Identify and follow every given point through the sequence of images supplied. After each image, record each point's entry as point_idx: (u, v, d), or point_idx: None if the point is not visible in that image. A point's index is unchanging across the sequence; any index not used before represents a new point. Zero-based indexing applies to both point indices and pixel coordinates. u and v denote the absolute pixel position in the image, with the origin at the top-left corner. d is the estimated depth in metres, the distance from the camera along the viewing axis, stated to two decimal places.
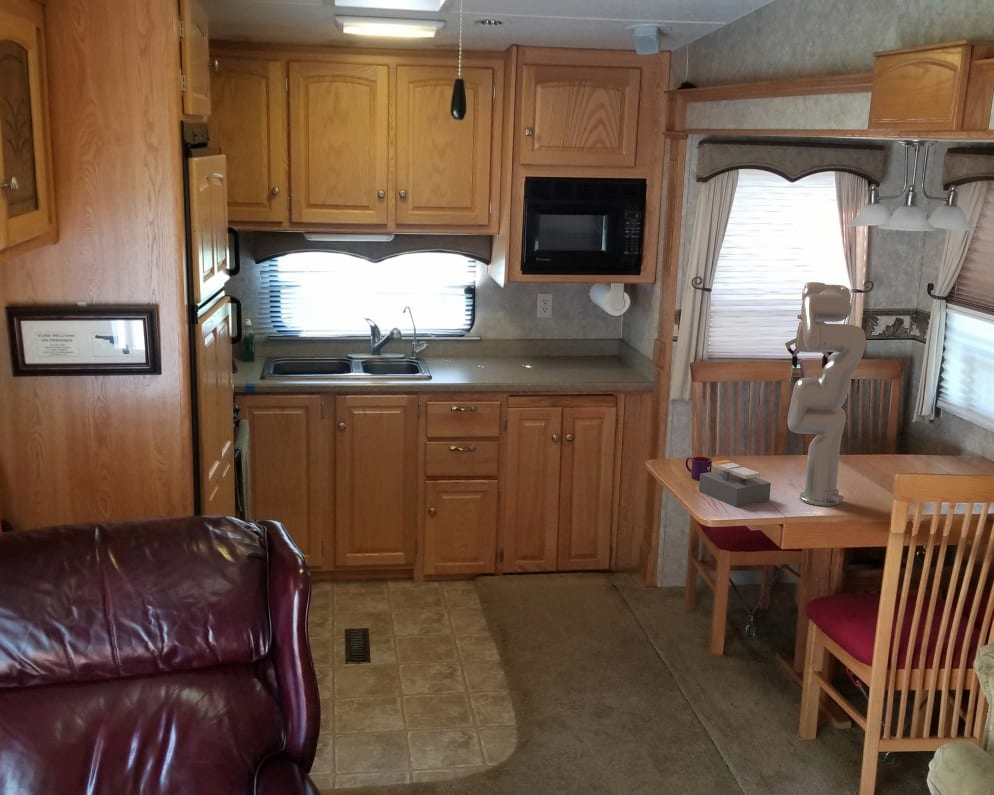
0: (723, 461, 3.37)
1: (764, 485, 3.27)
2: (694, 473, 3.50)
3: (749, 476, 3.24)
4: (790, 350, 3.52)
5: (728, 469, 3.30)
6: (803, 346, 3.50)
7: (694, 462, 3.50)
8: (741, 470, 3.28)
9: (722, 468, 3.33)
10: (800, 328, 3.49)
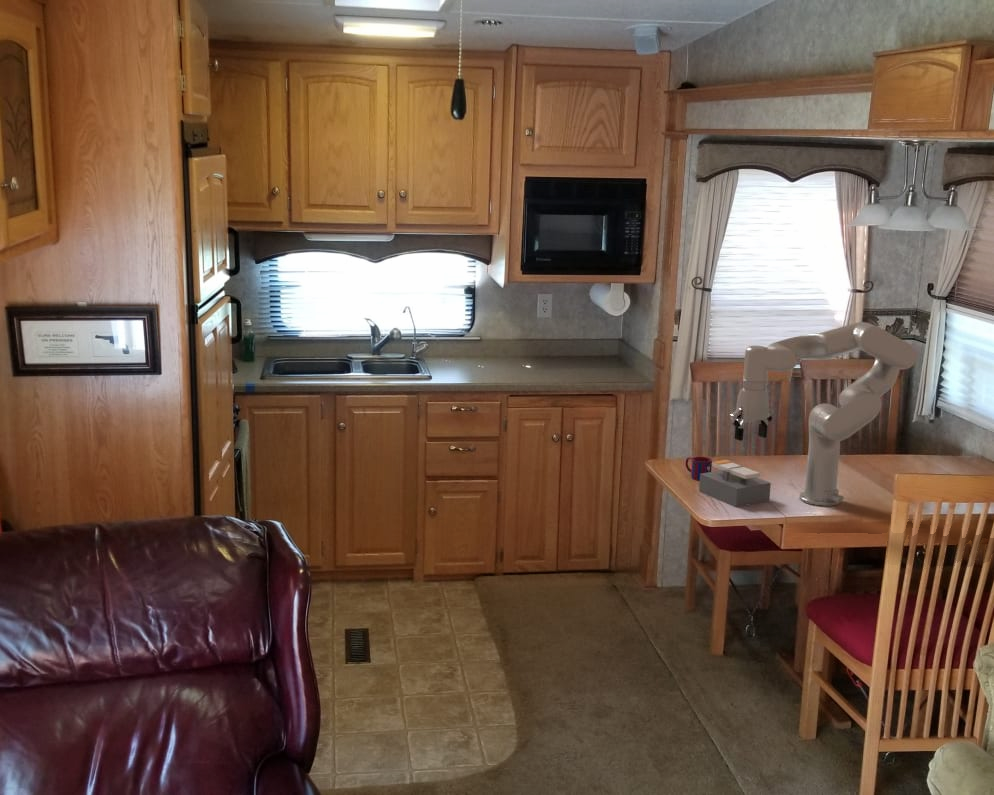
0: (723, 461, 3.37)
1: (764, 485, 3.27)
2: (694, 473, 3.50)
3: (749, 476, 3.24)
4: None
5: (728, 469, 3.30)
6: None
7: (694, 462, 3.50)
8: (741, 470, 3.28)
9: (722, 468, 3.33)
10: None
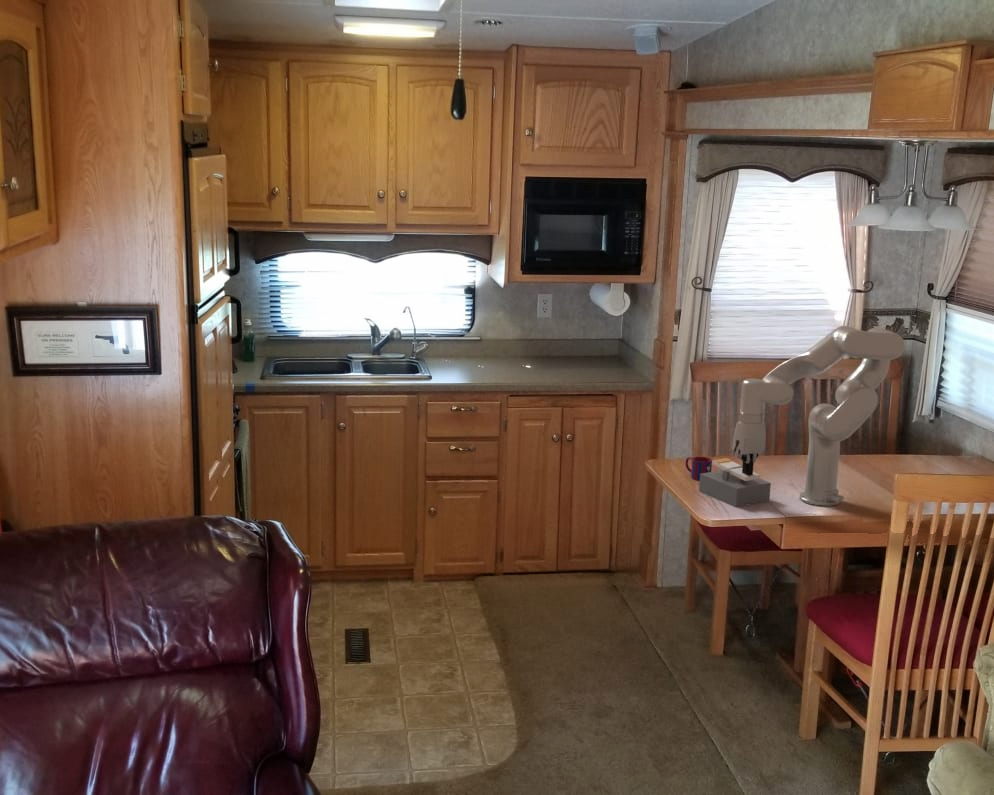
0: (723, 459, 3.37)
1: (764, 485, 3.27)
2: (694, 473, 3.50)
3: (749, 478, 3.25)
4: None
5: (728, 469, 3.30)
6: None
7: (694, 462, 3.50)
8: (741, 471, 3.28)
9: (722, 467, 3.33)
10: None
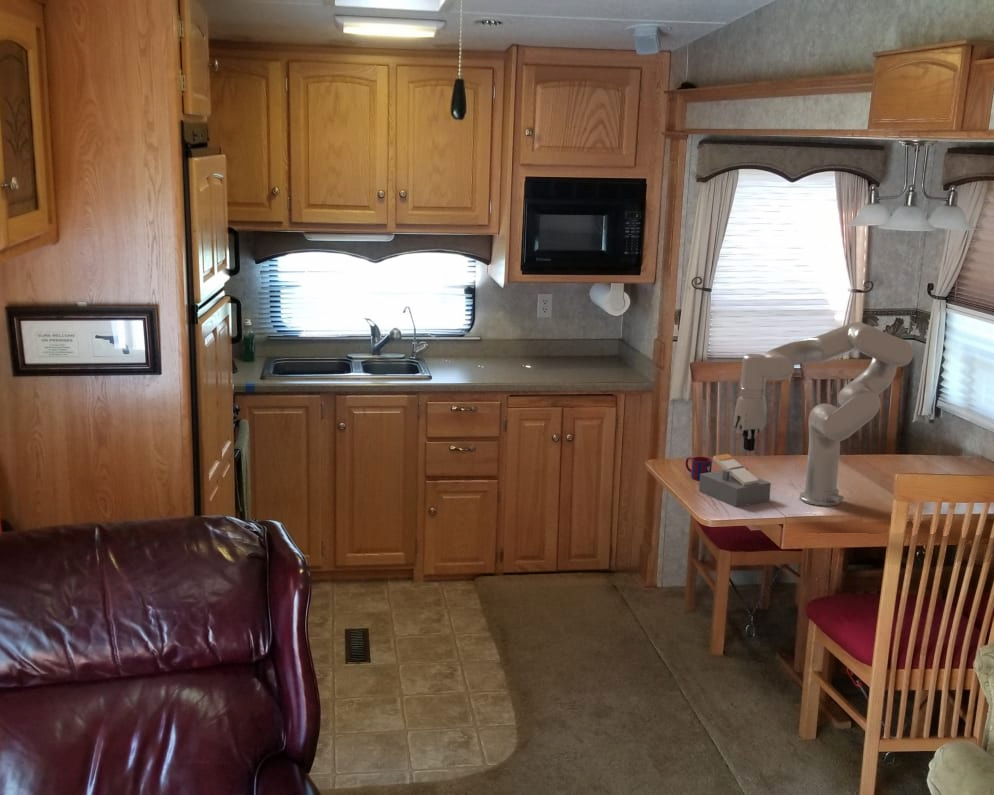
0: (724, 456, 3.37)
1: (764, 485, 3.27)
2: (694, 473, 3.50)
3: (748, 483, 3.25)
4: None
5: (728, 469, 3.30)
6: None
7: (694, 462, 3.50)
8: (741, 474, 3.28)
9: (722, 466, 3.33)
10: None
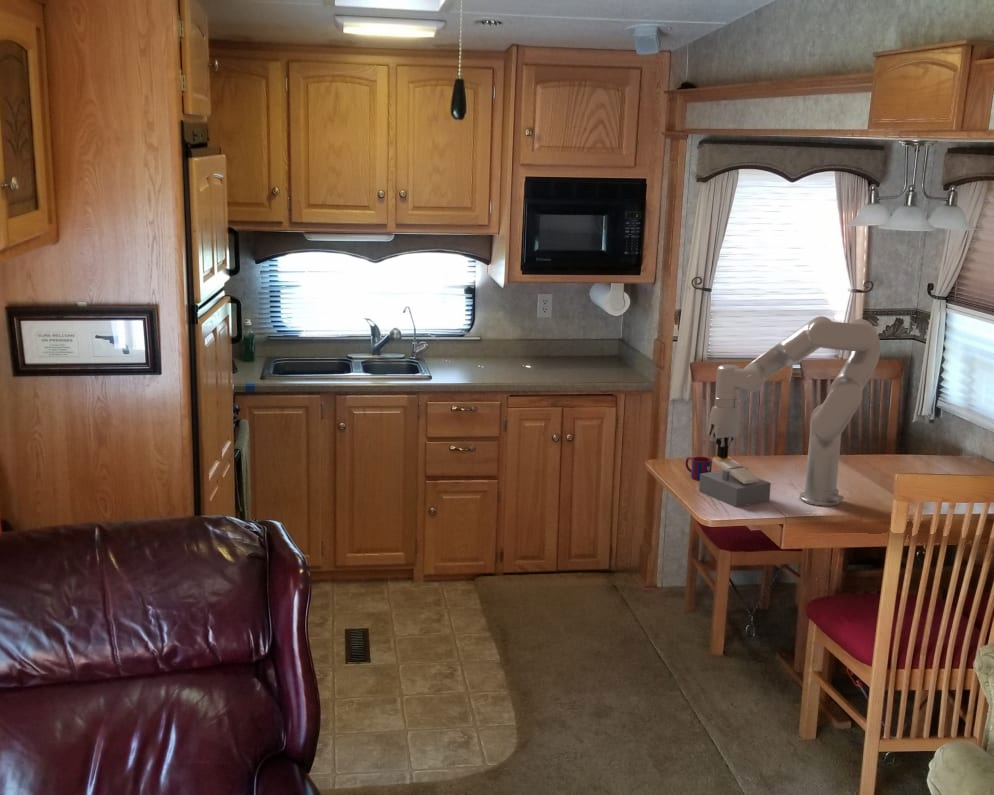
0: None
1: (764, 485, 3.27)
2: (694, 473, 3.50)
3: (748, 481, 3.25)
4: None
5: (728, 469, 3.30)
6: None
7: (694, 462, 3.50)
8: (741, 473, 3.28)
9: (722, 466, 3.33)
10: None
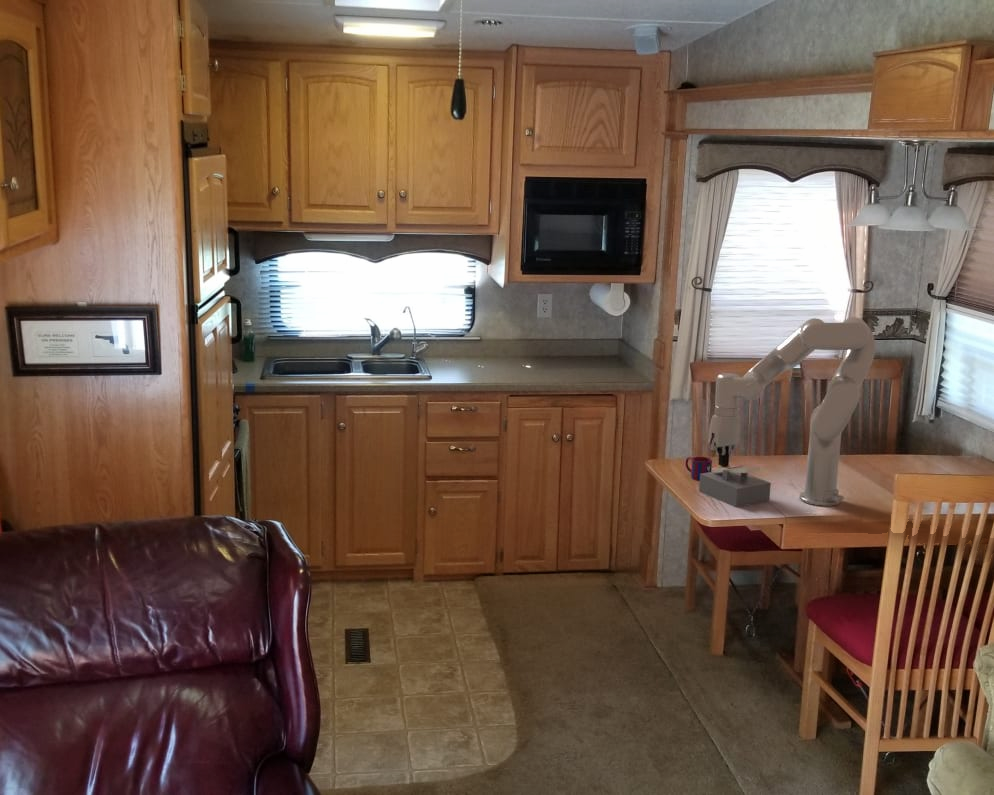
0: None
1: (764, 485, 3.27)
2: (694, 473, 3.50)
3: (749, 470, 3.24)
4: None
5: (728, 469, 3.30)
6: None
7: (694, 462, 3.50)
8: None
9: (722, 470, 3.33)
10: None
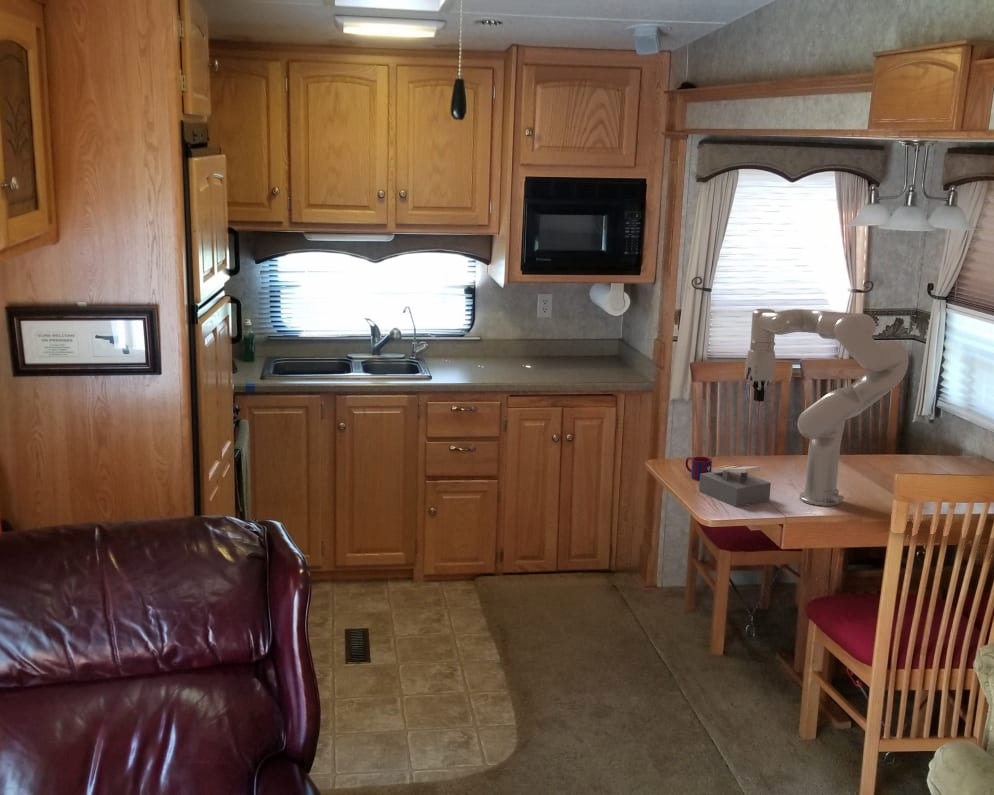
0: (723, 466, 3.38)
1: (764, 485, 3.27)
2: (694, 473, 3.50)
3: (749, 470, 3.24)
4: None
5: (728, 469, 3.30)
6: None
7: (694, 462, 3.50)
8: None
9: (722, 470, 3.33)
10: None
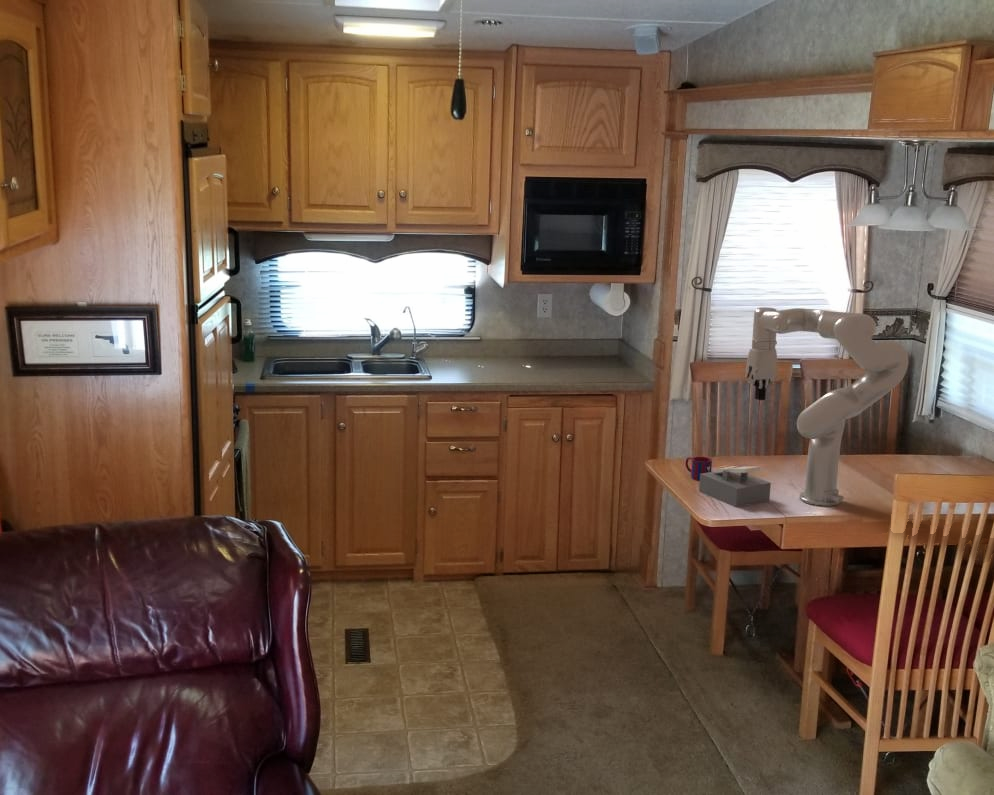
0: (723, 466, 3.38)
1: (764, 485, 3.27)
2: (694, 473, 3.50)
3: (749, 470, 3.24)
4: None
5: (728, 469, 3.30)
6: None
7: (694, 462, 3.50)
8: None
9: (722, 470, 3.33)
10: None
